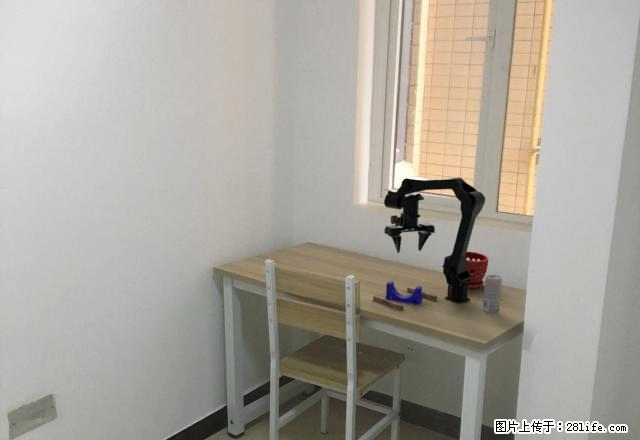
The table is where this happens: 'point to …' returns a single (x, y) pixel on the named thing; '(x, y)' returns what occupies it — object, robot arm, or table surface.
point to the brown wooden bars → (398, 306)
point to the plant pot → (476, 268)
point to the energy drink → (492, 294)
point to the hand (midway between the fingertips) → (408, 251)
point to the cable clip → (411, 299)
